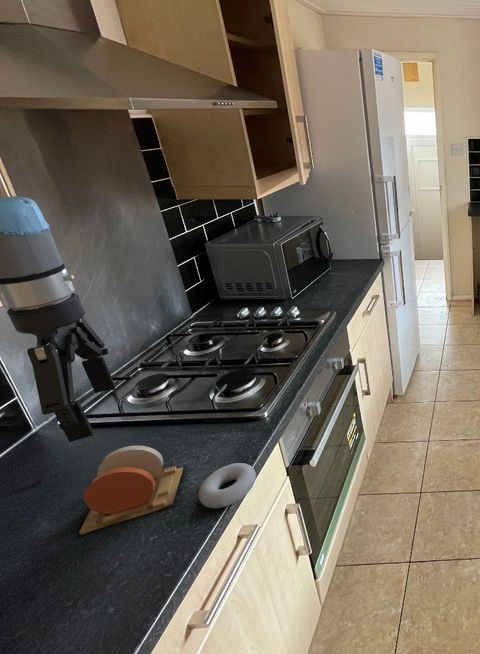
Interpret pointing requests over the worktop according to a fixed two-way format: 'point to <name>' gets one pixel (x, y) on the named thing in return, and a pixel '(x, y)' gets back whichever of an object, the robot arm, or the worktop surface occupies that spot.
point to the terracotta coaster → (119, 490)
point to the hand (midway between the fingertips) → (94, 412)
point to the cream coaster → (133, 460)
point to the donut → (224, 497)
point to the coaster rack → (159, 500)
